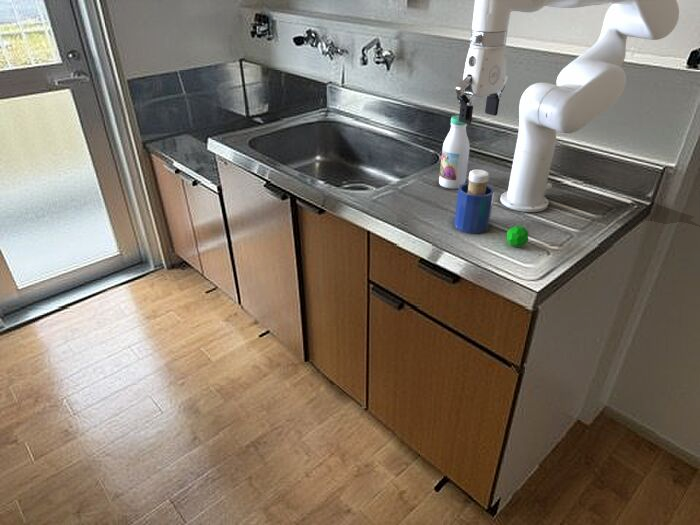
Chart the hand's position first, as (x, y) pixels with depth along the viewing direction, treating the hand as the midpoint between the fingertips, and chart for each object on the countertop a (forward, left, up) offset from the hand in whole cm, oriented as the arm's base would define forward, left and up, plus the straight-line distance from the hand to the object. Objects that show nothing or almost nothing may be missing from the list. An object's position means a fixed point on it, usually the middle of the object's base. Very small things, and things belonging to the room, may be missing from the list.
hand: (478, 118), depth 116 cm
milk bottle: (-13, -16, -26) cm, 33 cm away
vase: (+3, +5, -26) cm, 26 cm away
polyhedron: (+2, +18, -26) cm, 31 cm away
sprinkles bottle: (+3, +5, -25) cm, 26 cm away
